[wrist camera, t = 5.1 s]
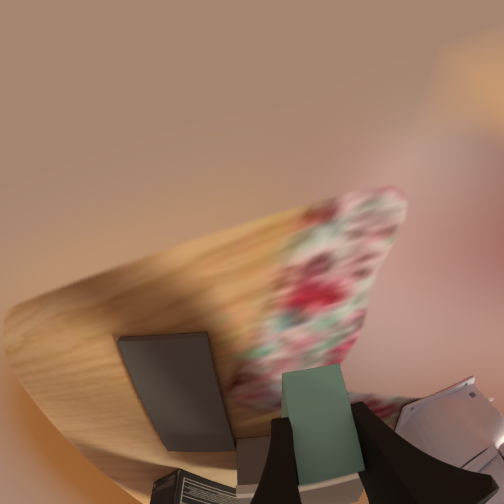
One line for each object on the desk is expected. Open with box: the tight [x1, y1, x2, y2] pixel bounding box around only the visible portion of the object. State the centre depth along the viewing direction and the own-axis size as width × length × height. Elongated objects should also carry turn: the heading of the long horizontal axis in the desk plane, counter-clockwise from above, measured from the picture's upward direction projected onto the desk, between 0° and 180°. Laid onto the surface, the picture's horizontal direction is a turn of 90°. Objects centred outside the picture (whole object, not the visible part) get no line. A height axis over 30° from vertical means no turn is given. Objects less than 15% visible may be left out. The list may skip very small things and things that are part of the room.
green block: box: [281, 363, 365, 485], centre depth 12 cm, size 2×10×5 cm, turn 6°
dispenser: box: [236, 436, 364, 504], centre depth 17 cm, size 10×7×6 cm
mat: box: [117, 332, 236, 452], centre depth 18 cm, size 6×12×1 cm, turn 7°
